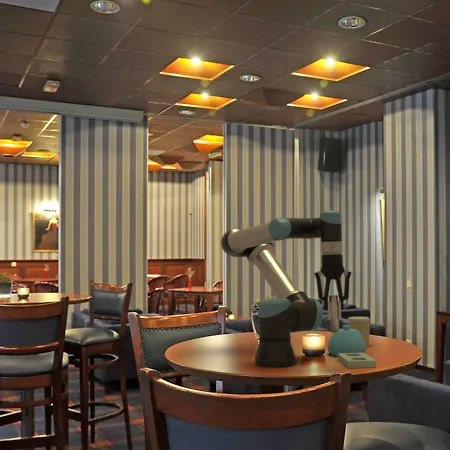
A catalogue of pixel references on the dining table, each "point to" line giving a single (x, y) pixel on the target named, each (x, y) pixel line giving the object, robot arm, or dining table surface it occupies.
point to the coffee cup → (361, 327)
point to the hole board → (356, 360)
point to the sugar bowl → (346, 342)
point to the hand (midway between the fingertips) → (334, 319)
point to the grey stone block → (334, 313)
